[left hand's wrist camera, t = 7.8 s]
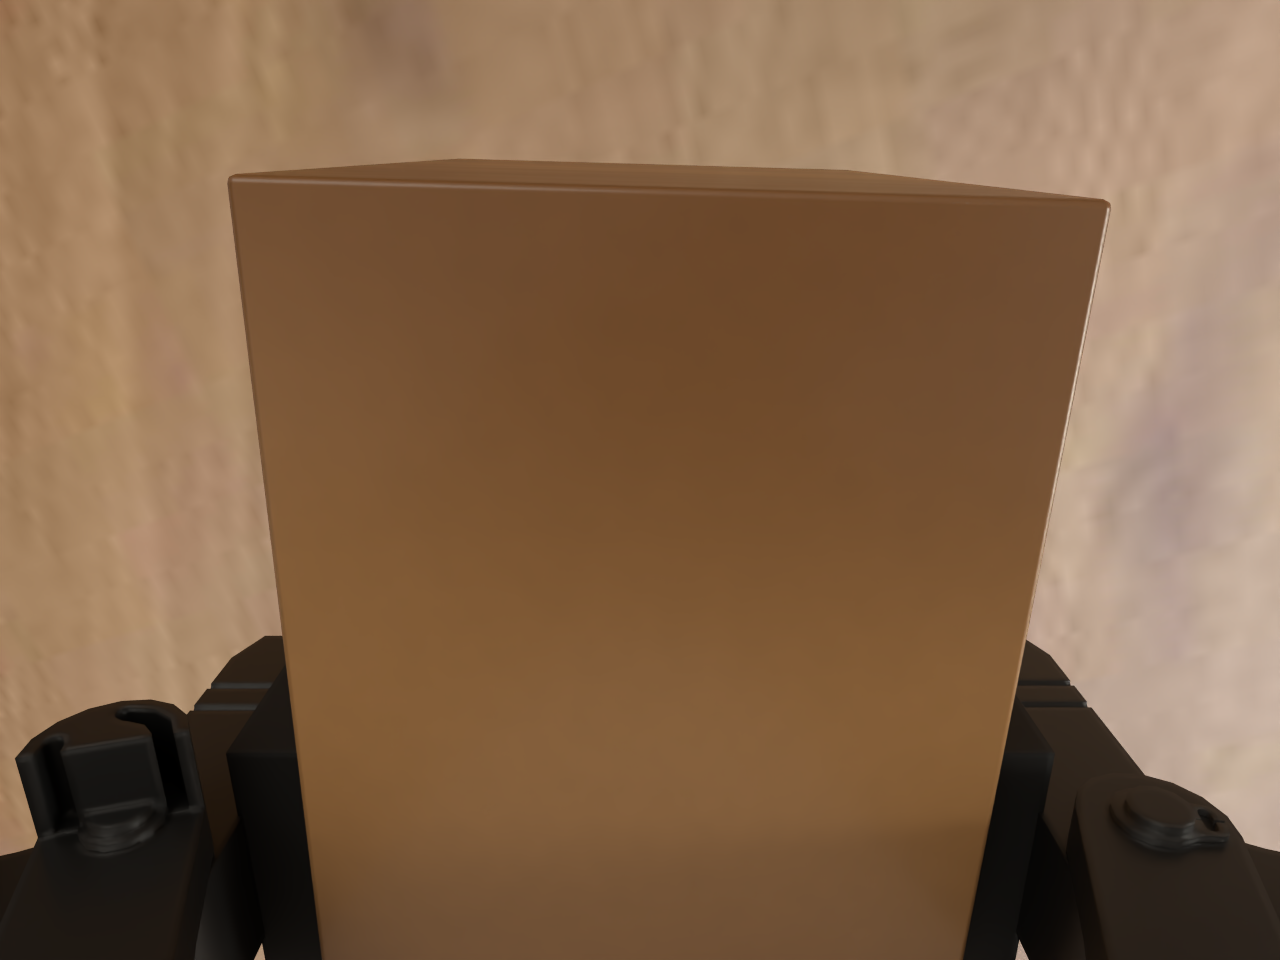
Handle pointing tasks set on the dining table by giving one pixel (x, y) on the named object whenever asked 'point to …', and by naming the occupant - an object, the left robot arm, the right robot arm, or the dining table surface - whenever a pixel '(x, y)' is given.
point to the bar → (655, 544)
